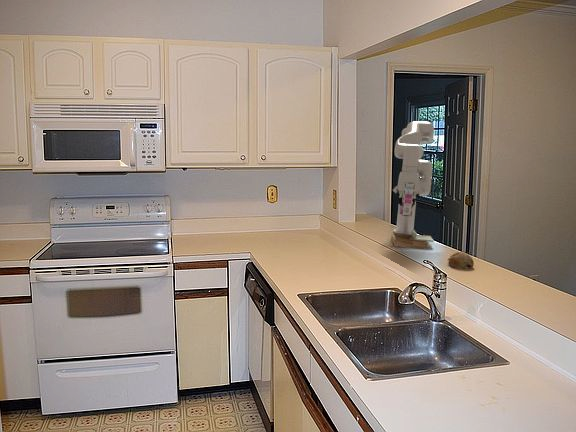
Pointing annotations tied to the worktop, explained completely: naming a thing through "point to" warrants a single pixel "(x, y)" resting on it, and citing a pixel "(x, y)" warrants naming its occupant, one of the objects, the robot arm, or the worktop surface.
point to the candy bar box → (407, 199)
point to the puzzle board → (408, 241)
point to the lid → (421, 237)
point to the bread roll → (461, 260)
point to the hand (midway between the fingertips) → (406, 205)
